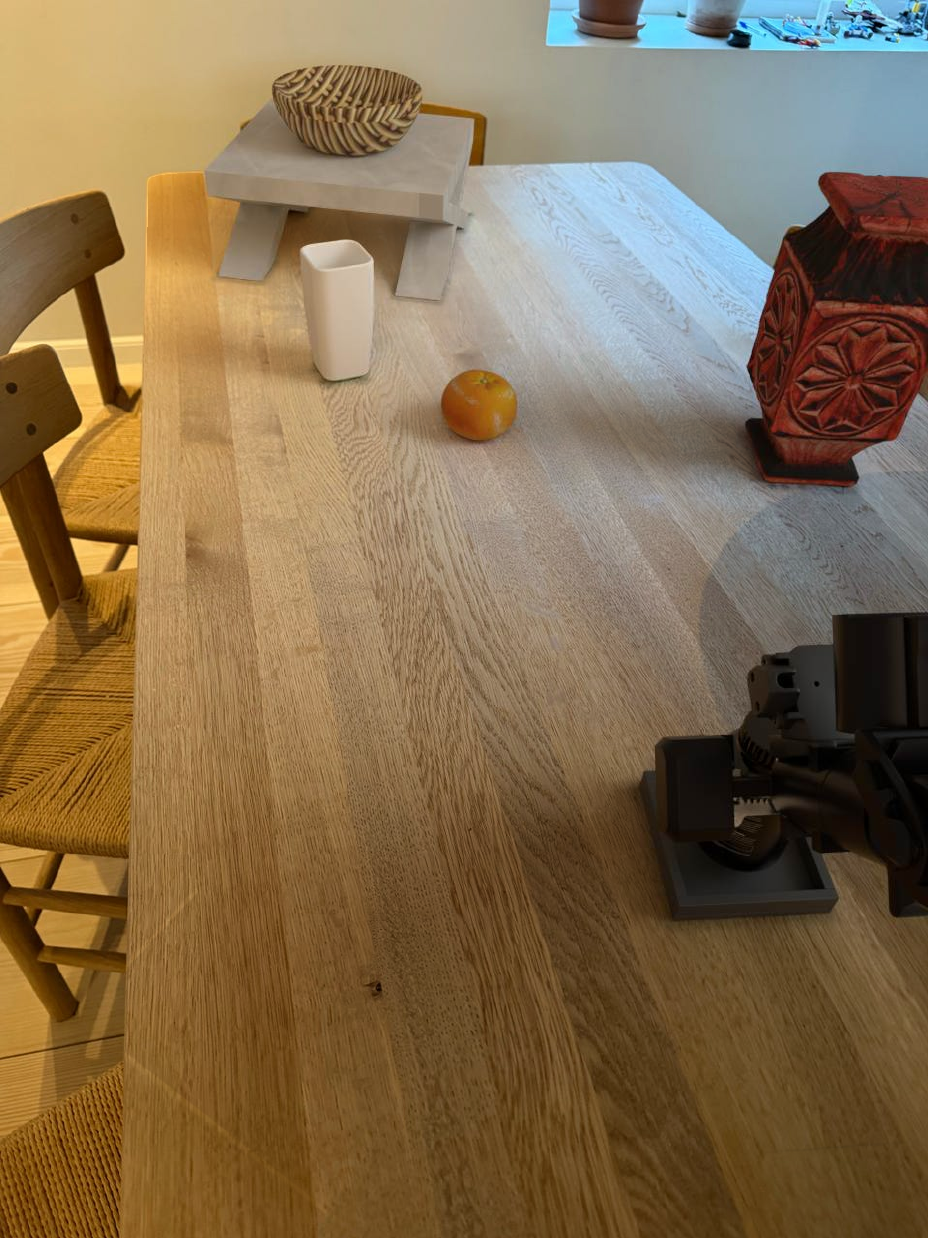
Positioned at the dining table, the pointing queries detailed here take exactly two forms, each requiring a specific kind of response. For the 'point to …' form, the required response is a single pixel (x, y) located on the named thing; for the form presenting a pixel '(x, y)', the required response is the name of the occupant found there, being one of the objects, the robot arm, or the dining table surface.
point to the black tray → (737, 877)
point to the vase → (842, 330)
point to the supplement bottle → (757, 834)
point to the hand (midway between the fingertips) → (754, 765)
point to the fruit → (479, 405)
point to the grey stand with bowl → (346, 168)
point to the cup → (339, 307)
